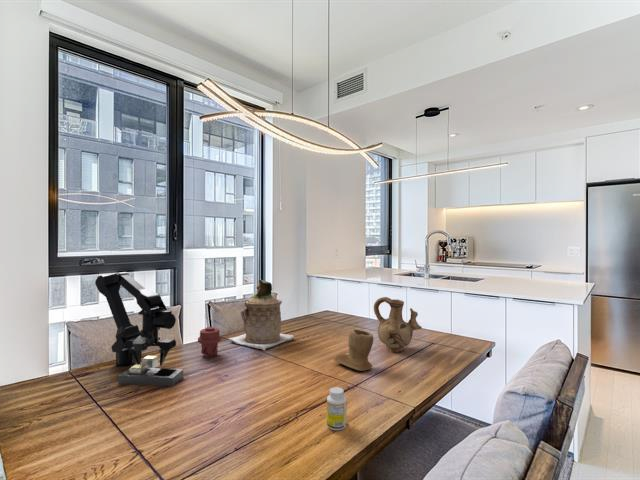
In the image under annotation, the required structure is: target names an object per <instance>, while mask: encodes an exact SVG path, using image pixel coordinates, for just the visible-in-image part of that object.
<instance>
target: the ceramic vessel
mask: <svg viewBox="0 0 640 480" xmlns="http://www.w3.org/2000/svg"><path fill="white" fill-rule="evenodd" d="M383 303H386V304H388V305H389V306H390V311H389V315H388V318H384V317H383V316H382V315H381V312H380V309H379V308H380V305H382V304H383ZM404 304H405V301H403V300H400V299H391V298H390V297H387V296H383V297H379V298H378V299H377V300H376V301H375V302H374V304H373V312H374V315H375V316H376V318H377V320H378V321H379V324H378V327H377V335H378V339H379V341H380V342H381V343H382V344H384V345H385V346H386V347H385V349H386V348H387V349H388V350H391V351H401V352H403V351H404V350H405V347H407V346H409V345H410V343H411V342H412V340H413V339H412V338H413V334H414V331H416V330H417V331H418V330H421V329H423V328H422V326H421V325H420V324H419V323H418V321H417V317H418V316H419V315H418V312H417V311H414V309H413V308H412V307H410V309H409V311H410V319H409V320H408V322H406V321H405V320H404V318H403V309H404V306H405V305H404ZM387 349H386V350H387ZM388 350H387V351H388ZM402 350H403V351H402Z"/></svg>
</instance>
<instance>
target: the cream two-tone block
mask: <svg viewBox="0 0 640 480" xmlns="http://www.w3.org/2000/svg"><path fill="white" fill-rule="evenodd" d="M141 365H147V368H159V356H158V355H146V356H144V357H142V359H141Z"/></svg>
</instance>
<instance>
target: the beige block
mask: <svg viewBox="0 0 640 480" xmlns="http://www.w3.org/2000/svg"><path fill="white" fill-rule="evenodd" d="M129 369H130V375H143V374H144V373H146V372H147V365H142V364H140V365H138V364H137V363H136V364H133V366H131V367H129Z"/></svg>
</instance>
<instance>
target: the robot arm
mask: <svg viewBox="0 0 640 480" xmlns="http://www.w3.org/2000/svg"><path fill="white" fill-rule="evenodd" d="M94 283H95V286H96V289H97V291H98V292H99V293H100V294H101V295H103V296H104V297H105V298H106V302H107V305H108V306H109V310H110V312H111V315H112V317H113V320H114V323H115V326H116V329H117V330H116V333H115V340H116V341H115V342H114V343H113V344H112V345H111V348H110V349H111V351H112V352H113V353H115V364H113V367H126V368H128V367H130V366H131V365H134V364H135V363H136V364H138V365H141V364H142V355H143V353H142V352H143V351H146V350H148V348H149V347H151V348H152V347H158V348H159V350H158V353H160V354H159V365H160V367H162V366H163V365H164V363H165V360H166V357H167V356H168V354H169V352H170V350H172V349H173V348H175V347H176V346H177V340H175V338H165V339H163V340H162V341H161V336H159V331H160V330H161V329H166V330H171V329H172V328H173V327H174V326H175V324H176V321H177V318H176V316H175V315H174V313H173V311H172V310H168V309H167V307H166V305H165V303H164V301H163V299H162V296H161V295H160V294H159V293H157V292H155V291H153V290H149V289H146V288H145V287H144V286H143V285H142V284H140V283H139V282H138V281H137V280H136V279H135V278H133V277H132V276H131V275H130V273H129V272H127V271H122V272H115V273H112V274H104V275H103V274H102V275H99V276H97V277H96V279H95V282H94ZM121 287H122V288H124V289H125V290H126V291H127V292H128V293H130V294H131V296H133V297H134V299H136V304H137V305H138V306H139V308H140V309H141V310H140V311H139V312H138V315H141V316H142V326H141V327H142V329H141V330H140V329H139V326H138V324H136V325H134V324H132V323H131V321H130V317H129V315H128V313H127V311H126V308H125V305H124V302H123V300H122V297H121V295H120V294H121V293H120V290H121ZM130 294H129V295H130Z"/></svg>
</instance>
